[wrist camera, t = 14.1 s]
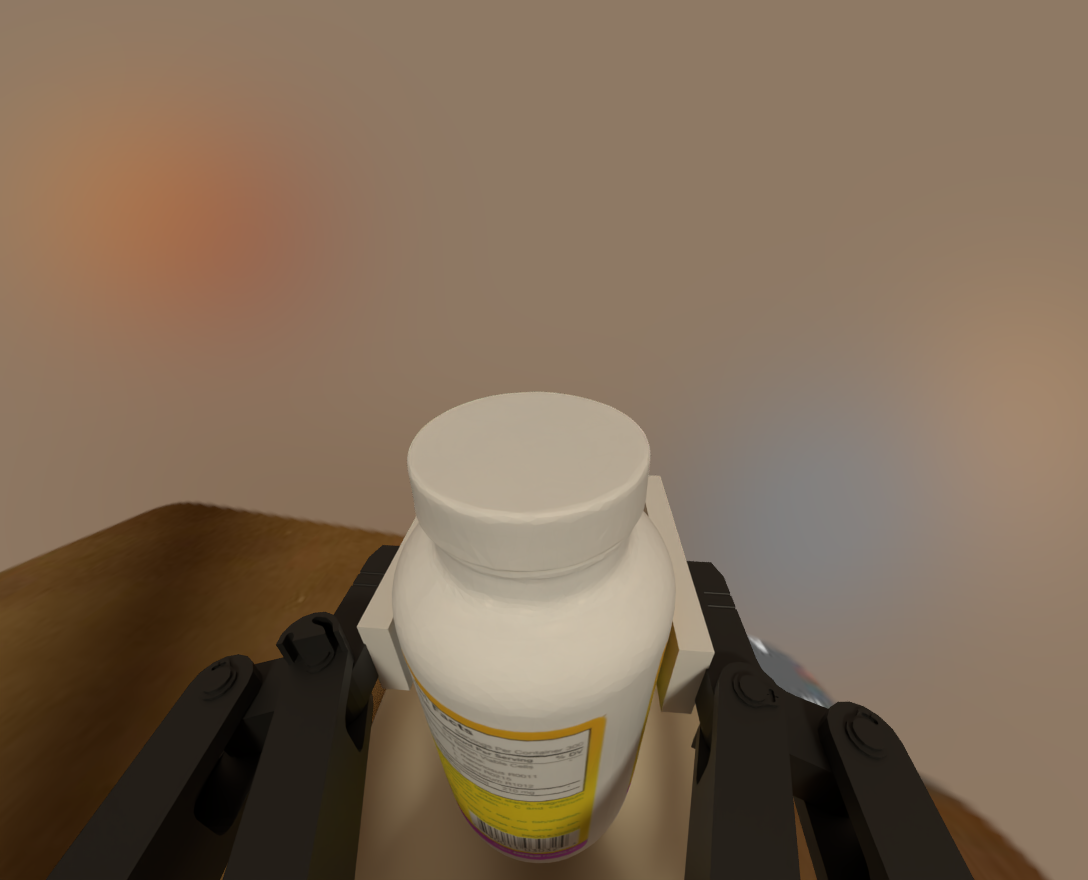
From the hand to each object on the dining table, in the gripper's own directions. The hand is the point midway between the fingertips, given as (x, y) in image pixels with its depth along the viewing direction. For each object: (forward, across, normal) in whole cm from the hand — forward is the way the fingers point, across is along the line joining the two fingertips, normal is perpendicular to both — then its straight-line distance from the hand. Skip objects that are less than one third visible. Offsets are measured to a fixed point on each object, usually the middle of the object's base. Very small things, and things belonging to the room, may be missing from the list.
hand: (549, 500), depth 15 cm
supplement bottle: (-5, 0, -7) cm, 9 cm away
